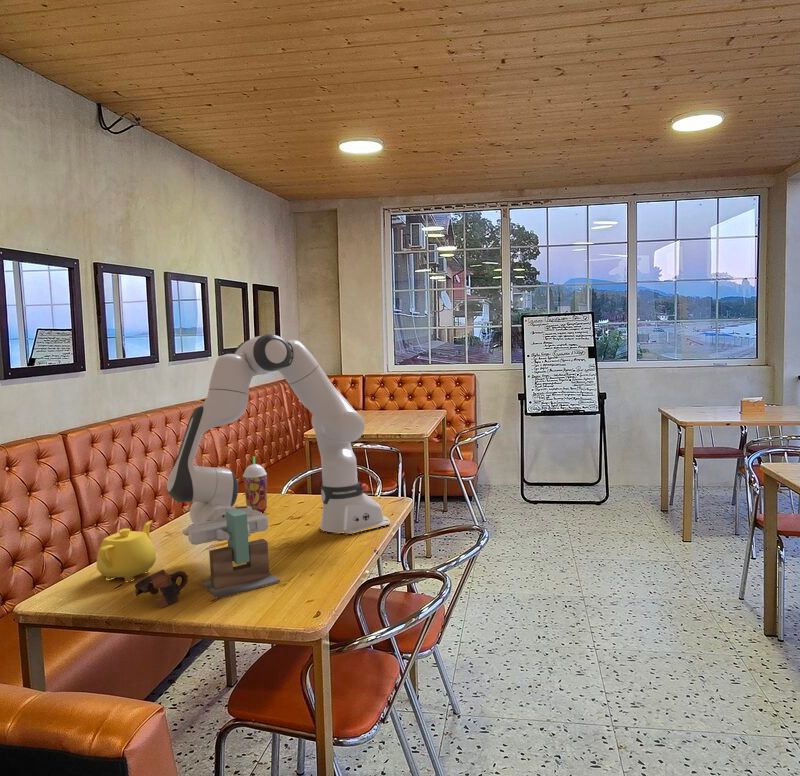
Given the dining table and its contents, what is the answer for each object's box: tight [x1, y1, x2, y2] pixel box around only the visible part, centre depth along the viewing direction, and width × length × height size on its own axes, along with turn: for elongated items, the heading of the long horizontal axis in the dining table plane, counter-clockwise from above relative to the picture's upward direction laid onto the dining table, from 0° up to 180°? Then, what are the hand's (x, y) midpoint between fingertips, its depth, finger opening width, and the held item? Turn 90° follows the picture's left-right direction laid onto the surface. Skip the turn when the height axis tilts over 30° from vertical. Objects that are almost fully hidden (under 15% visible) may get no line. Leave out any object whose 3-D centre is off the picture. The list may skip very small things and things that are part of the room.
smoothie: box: [242, 456, 268, 513], centre depth 230 cm, size 8×8×20 cm
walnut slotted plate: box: [201, 538, 281, 599], centre depth 163 cm, size 12×16×10 cm
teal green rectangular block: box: [226, 509, 250, 565], centre depth 162 cm, size 6×3×12 cm, turn 34°
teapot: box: [96, 520, 157, 582], centre depth 173 cm, size 13×20×12 cm
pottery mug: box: [133, 569, 189, 609], centre depth 155 cm, size 12×10×8 cm
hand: (238, 535), depth 161 cm, fingers closed on teal green rectangular block, 3 cm apart
